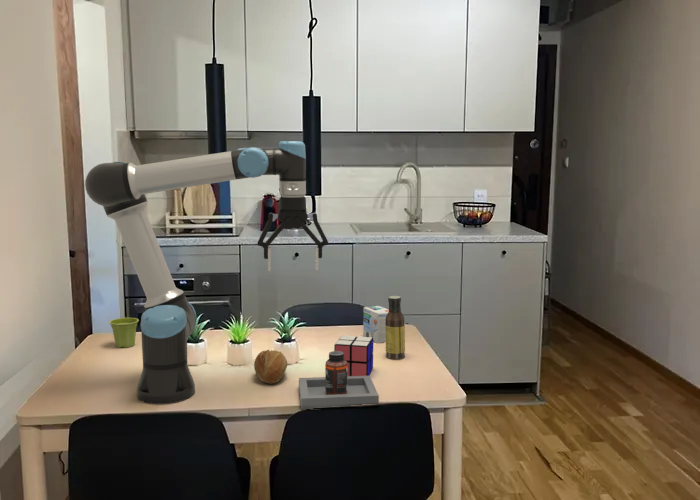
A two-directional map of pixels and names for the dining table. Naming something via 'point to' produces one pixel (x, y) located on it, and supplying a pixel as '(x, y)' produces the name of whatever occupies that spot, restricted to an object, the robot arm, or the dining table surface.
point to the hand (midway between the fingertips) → (293, 269)
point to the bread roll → (270, 366)
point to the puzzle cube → (356, 354)
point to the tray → (357, 394)
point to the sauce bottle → (395, 330)
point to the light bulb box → (375, 323)
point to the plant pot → (124, 331)
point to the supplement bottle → (336, 374)
